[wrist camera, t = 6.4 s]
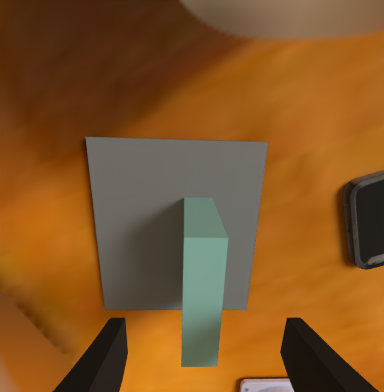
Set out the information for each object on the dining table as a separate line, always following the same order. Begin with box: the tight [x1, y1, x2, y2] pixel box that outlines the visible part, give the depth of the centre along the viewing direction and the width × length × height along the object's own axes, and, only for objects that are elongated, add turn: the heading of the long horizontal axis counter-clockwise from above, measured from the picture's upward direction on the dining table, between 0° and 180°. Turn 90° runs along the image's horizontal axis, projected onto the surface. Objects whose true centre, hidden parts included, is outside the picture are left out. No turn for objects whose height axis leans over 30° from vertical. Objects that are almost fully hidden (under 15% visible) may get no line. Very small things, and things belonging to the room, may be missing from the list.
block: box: [181, 197, 228, 367], centre depth 14 cm, size 8×2×6 cm, turn 178°
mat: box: [86, 137, 268, 310], centre depth 17 cm, size 14×12×1 cm
